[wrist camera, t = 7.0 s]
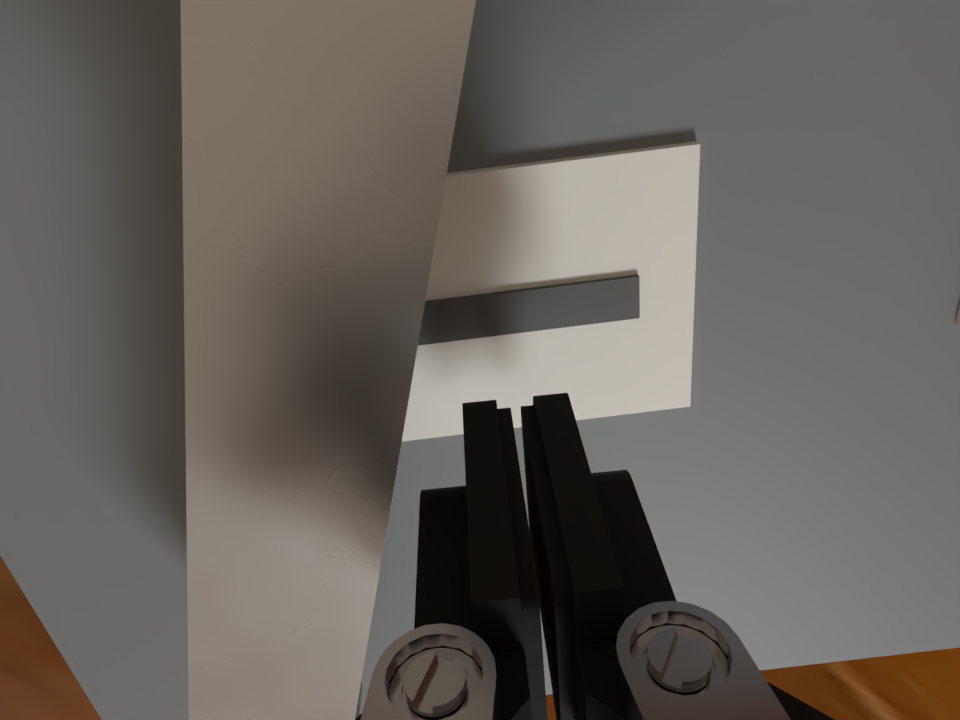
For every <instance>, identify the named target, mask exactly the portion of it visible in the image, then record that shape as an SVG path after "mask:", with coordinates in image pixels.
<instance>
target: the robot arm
mask: <svg viewBox="0 0 960 720" xmlns="http://www.w3.org/2000/svg"><path fill="white" fill-rule="evenodd" d="M462 409H463V431H464V454H465V477H466V486H456V487H446V488H436V489H426V490H421V493H420V505H419V529H418V552H417V575H416V598H415V622H414V629H413V630H411V631H408V632H406V633H405V634H403V635H402V636H400V637H399V638H397V639H396V640H395V641H393V642H392V643H391V644H390V645H389V646H388V648H387V649H386V650H385V651H384V652H383V653H382V655H381V656H380V658H379V660H378V662H377V664H376V667H375V669H374V671H373V674H372V678H371V681H370V685H369V689H368V693H367V696H366V700H365V704H364V708H363V712H362V713H361V714H360V715H359V716H358V717H357V718H356V719H355V720H547V707H546V692H545V677H544V662H543V647H542V632H541V619H542V626H543V632H544V639H545V646H546V652H547V659H548V666H549V672H550V679H551V686H552V692H553V699H554V705H555V712H556V719H557V720H834V719H832V718H830V717H829V716H827V715H825V714H823V713H822V712H820V711H818V710H816V709H814V708H813V707H811V706H809V705H807V704H806V703H804V702H802V701H800V700H799V699H797V698H795V697H793V696H791V695H790V694H788V693H786V692H784V691H783V690H781V689H779V688H777V687H776V686H774V685H772V684H770V683H768V682H767V681H766V680H765V678H764V676H763V675H762V673H761V672H760V670H759V668H758V667H757V665H756V664H755V662H754V661H753V659H752V657H751V656H750V654H749V653H748V651H747V649H746V648H745V646H744V645H743V643H742V641H741V640H740V638H739V637H738V636H737V634H736V633H735V632H734V631H733V630H732V628H731V627H730V626H729V625H728V624H727V623H726V622H725V621H724V620H722V619H721V618H719V617H718V616H717V615H715V614H714V613H712V612H711V611H709V610H706V609H704V608H701V607H699V606H696V605H694V604H691V603H684V602H677V601H676V598H675V595H674V592H673V590H672V587H671V584H670V581H669V579H668V576H667V573H666V570H665V568H664V565H663V562H662V560H661V557H660V554H659V551H658V549H657V546H656V543H655V540H654V538H653V535H652V532H651V529H650V527H649V524H648V521H647V519H646V516H645V513H644V510H643V508H642V505H641V502H640V499H639V497H638V494H637V491H636V488H635V486H634V483H633V480H632V478H631V476H630V473H629V472H628V471H627V470H618V471H608V472H598V473H591V471H590V467H589V464H588V460H587V457H586V454H585V450H584V447H583V443H582V440H581V436H580V433H579V429H578V426H577V423H576V419H575V416H574V412H573V409H572V405H571V402H570V398H569V395H568V393H559V394H549V395H539V396H533V405H530V406H521V422H522V436H523V450H524V464H525V478H526V492H527V506H528V519H527V512H526V506H525V499H524V493H523V486H522V479H521V473H520V466H519V460H518V453H517V446H516V440H515V433H514V427H513V420H512V413H511V408H500V409H497V403H496V400H489V401H478V402H468V403H462ZM528 520H529V526H528ZM540 612H541V617H540Z"/></svg>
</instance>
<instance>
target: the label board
mask: <svg viewBox="0 0 960 720" xmlns="http://www.w3.org/2000/svg"><path fill="white" fill-rule="evenodd" d="M559 393H568V395H569V398H570V402H571V405H572V409H573V412H574V416H575V419H576V423H577V426H578V429H579V433H580V436H581V440H582V443H583V447H584V450H585V454H586V457H587V460H588V464H589V467H590V471H591V473H598V472H608V471H618V470H627V471H628V472H629V473H630V476H631V478H632V480H633V483H634V486H635V488H636V491H637V494H638V497H639V499H640V502H641V505H642V508H643V510H644V513H645V516H646V519H647V521H648V524H649V527H650V529H651V532H652V535H653V538H654V540H655V543H656V546H657V549H658V551H659V554H660V557H661V560H662V562H663V565H664V568H665V570H666V573H667V576H668V579H669V581H670V584H671V587H672V590H673V592H674V595H675V598H676V601H677V602H684V603H691V604H694V605H696V606H699V607H701V608H704V609H706V610H709V611H711V612H712V613H714V614H715V615H717V616H718V617H719V618H721V619H722V620H724V621H725V622H726V623H727V624H728V625H729V626H730V627H731V628H732V630H733V631H734V632H735V633H736V634H737V636H738V637H739V638H740V640H741V641H742V643H743V645H744V646H745V648H746V649H747V651H748V653H749V654H750V656H751V657H752V659H753V661H754V662H755V664H756V665H757V667H758V668H759V670H767V669H776V668H784V667H793V666H802V665H810V664H819V663H828V662H836V661H845V660H854V659H863V658H871V657H880V656H889V655H897V654H906V653H915V652H923V651H932V650H941V649H950V648H958V647H960V0H476V3H475V9H474V15H473V21H472V27H471V33H470V39H469V45H468V50H467V56H466V62H465V68H464V74H463V80H462V86H461V92H460V98H459V104H458V110H457V116H456V122H455V128H454V134H453V140H452V145H451V151H450V157H449V163H448V169H447V175H446V181H445V187H444V193H443V199H442V205H441V211H440V217H439V223H438V229H437V235H436V240H435V246H434V252H433V258H432V264H431V270H430V276H429V282H428V288H427V294H426V300H425V306H424V312H423V318H422V324H421V330H420V335H419V341H418V347H417V353H416V359H415V365H414V371H413V377H412V383H411V389H410V395H409V401H408V407H407V413H406V419H405V425H404V430H403V436H402V442H401V448H400V454H399V460H398V466H397V472H396V478H395V484H394V490H393V496H392V502H391V508H390V514H389V520H388V525H387V531H386V537H385V543H384V549H383V555H382V561H381V567H380V573H379V579H378V585H377V591H376V597H375V603H374V609H373V615H372V620H371V626H370V632H369V638H368V644H367V650H366V656H365V662H364V668H363V674H362V680H361V681H362V698H361V707H360V714H361V713H362V712H363V708H364V704H365V700H366V696H367V693H368V689H369V685H370V681H371V678H372V674H373V671H374V669H375V667H376V664H377V662H378V660H379V658H380V656H381V655H382V653H383V652H384V651H385V650H386V649H387V648H388V646H389V645H390V644H391V643H392V642H393V641H395V640H396V639H397V638H399V637H400V636H402V635H403V634H405V633H406V632H408V631H411V630H413V629H414V622H415V598H416V575H417V552H418V529H419V505H420V493H421V490H426V489H436V488H446V487H456V486H466V477H465V454H464V431H463V409H462V403H468V402H478V401H489V400H496V403H497V409H500V408H511V413H512V420H513V427H514V433H515V440H516V446H517V453H518V460H519V466H520V473H521V479H522V486H523V493H524V499H525V506H526V512H527V519H528V506H527V492H526V478H525V464H524V450H523V436H522V422H521V406H530V405H533V396H539V395H549V394H559ZM528 526H529V520H528ZM0 555H1V557H2V559H3V560H4V562H5V563H6V565H7V567H8V568H9V570H10V572H11V573H12V575H13V576H14V578H15V580H16V581H17V583H18V585H19V586H20V588H21V589H22V591H23V593H24V594H25V596H26V598H27V599H28V601H29V602H30V604H31V606H32V607H33V609H34V611H35V612H36V614H37V615H38V617H39V619H40V620H41V622H42V624H43V625H44V627H45V628H46V630H47V632H48V633H49V635H50V637H51V638H52V640H53V641H54V643H55V645H56V646H57V648H58V650H59V651H60V653H61V654H62V656H63V658H64V659H65V661H66V663H67V664H68V666H69V667H70V669H71V671H72V672H73V674H74V676H75V677H76V679H77V680H78V682H79V684H80V685H81V687H82V689H83V690H84V692H85V693H86V695H87V697H88V698H89V700H90V702H91V703H92V705H93V706H94V708H95V710H96V711H97V713H98V714H99V716H100V718H101V719H102V720H189V699H188V611H187V523H186V435H185V347H184V260H183V172H182V84H181V0H0ZM540 617H541V612H540ZM541 632H542V647H543V662H544V677H545V692H546V695H549V694H553V692H552V686H551V679H550V672H549V666H548V659H547V652H546V646H545V639H544V632H543V626H542V619H541Z"/></svg>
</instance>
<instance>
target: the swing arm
mask: <svg viewBox="0 0 960 720" xmlns="http://www.w3.org/2000/svg"><path fill="white" fill-rule="evenodd" d="M475 3H476V0H181V84H182V172H183V260H184V347H185V435H186V523H187V611H188V699H189V720H355V719H356V718H357V717H358V716H359V715H360V707H361V698H362V681H361V680H362V674H363V668H364V662H365V656H366V650H367V644H368V638H369V632H370V626H371V620H372V615H373V609H374V603H375V597H376V591H377V585H378V579H379V573H380V567H381V561H382V555H383V549H384V543H385V537H386V531H387V525H388V520H389V514H390V508H391V502H392V496H393V490H394V484H395V478H396V472H397V466H398V460H399V454H400V448H401V442H402V436H403V430H404V425H405V419H406V413H407V407H408V401H409V395H410V389H411V383H412V377H413V371H414V365H415V359H416V353H417V347H418V341H419V335H420V330H421V324H422V318H423V312H424V306H425V300H426V294H427V288H428V282H429V276H430V270H431V264H432V258H433V252H434V246H435V240H436V235H437V229H438V223H439V217H440V211H441V205H442V199H443V193H444V187H445V181H446V175H447V169H448V163H449V157H450V151H451V145H452V140H453V134H454V128H455V122H456V116H457V110H458V104H459V98H460V92H461V86H462V80H463V74H464V68H465V62H466V56H467V50H468V45H469V39H470V33H471V27H472V21H473V15H474V9H475Z"/></svg>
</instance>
